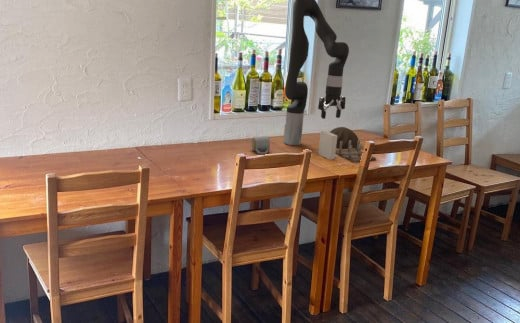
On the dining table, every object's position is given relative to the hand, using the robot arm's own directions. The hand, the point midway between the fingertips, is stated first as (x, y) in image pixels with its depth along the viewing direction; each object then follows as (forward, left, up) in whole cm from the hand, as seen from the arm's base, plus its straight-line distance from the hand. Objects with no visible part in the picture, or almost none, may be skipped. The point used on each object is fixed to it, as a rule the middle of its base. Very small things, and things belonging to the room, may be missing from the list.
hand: (330, 118), depth 237 cm
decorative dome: (-17, +22, -20) cm, 34 cm away
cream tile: (0, 0, -20) cm, 20 cm away
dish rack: (+4, +14, -20) cm, 24 cm away
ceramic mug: (-16, -28, -20) cm, 38 cm away
